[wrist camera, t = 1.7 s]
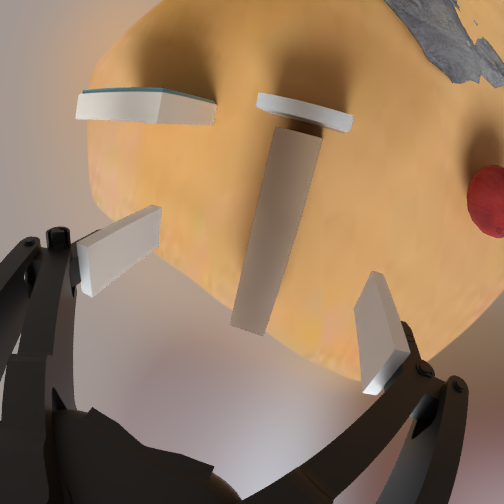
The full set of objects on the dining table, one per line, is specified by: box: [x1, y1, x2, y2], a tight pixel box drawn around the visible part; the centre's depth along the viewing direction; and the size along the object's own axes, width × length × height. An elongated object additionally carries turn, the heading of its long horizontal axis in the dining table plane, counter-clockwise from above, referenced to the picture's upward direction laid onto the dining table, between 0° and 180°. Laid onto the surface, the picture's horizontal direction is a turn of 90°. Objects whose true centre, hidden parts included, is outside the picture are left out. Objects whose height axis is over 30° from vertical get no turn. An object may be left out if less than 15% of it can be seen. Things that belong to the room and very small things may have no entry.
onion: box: [467, 165, 504, 238], centre depth 14 cm, size 6×6×8 cm
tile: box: [76, 87, 217, 126], centre depth 18 cm, size 8×2×9 cm, turn 78°
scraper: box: [230, 92, 354, 336], centre depth 21 cm, size 6×18×6 cm, turn 168°
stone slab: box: [384, 0, 504, 88], centre depth 12 cm, size 18×2×10 cm
